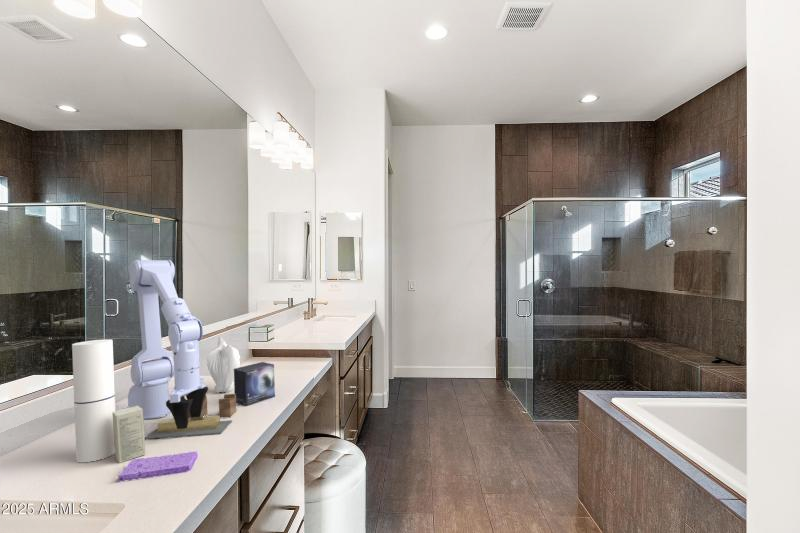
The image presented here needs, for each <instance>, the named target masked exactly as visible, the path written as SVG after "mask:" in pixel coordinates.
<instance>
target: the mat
mask: <svg viewBox="0 0 800 533" xmlns="http://www.w3.org/2000/svg"><path fill="white" fill-rule="evenodd" d="M232 422H233V420H220V425H219V426H218V427H217V428H216V429H206V430H193V431H180V432H167V433H158V427H157V428H156V429H154V430H153V431H151V432H150V433H149V434H147V435H146V436H144V438H145V441H146V439H150V440H156V439H155V438H162V439H168V438H167V437H175V438H183V437H182V436H188V437H201V436H211V435H212V436H213V435H221V434H222V433H224V431H225V430H226V429H227V428H228V427H229V426H230V425H231V424H232ZM229 424H230V425H229ZM228 425H229V426H228ZM227 426H228V427H227Z"/></svg>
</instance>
